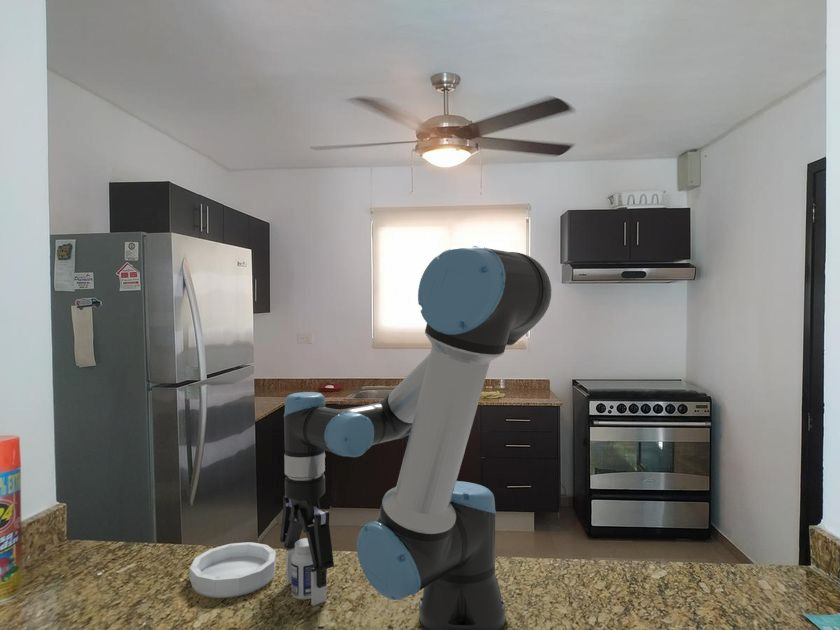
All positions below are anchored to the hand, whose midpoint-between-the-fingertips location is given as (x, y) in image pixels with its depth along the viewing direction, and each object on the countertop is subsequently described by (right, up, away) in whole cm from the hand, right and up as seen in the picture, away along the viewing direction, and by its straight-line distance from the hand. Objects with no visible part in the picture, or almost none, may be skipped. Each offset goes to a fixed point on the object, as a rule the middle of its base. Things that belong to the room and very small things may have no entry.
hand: (305, 591), depth 103 cm
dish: (-16, 0, +6) cm, 17 cm away
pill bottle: (0, 0, 0) cm, 0 cm away
